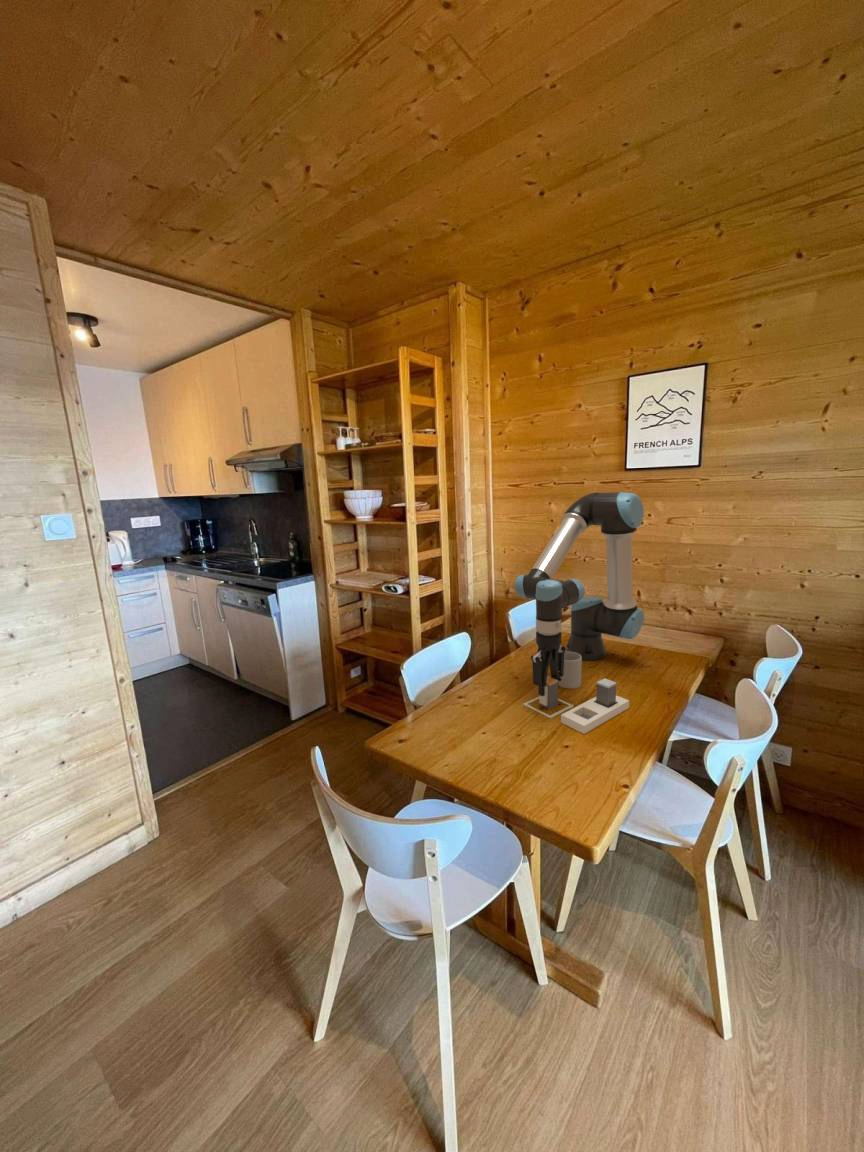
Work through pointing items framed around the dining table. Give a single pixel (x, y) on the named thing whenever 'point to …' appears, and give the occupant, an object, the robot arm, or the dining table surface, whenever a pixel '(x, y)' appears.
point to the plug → (551, 693)
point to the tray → (545, 713)
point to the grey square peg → (606, 693)
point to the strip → (592, 714)
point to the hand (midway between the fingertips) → (548, 701)
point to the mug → (571, 670)
